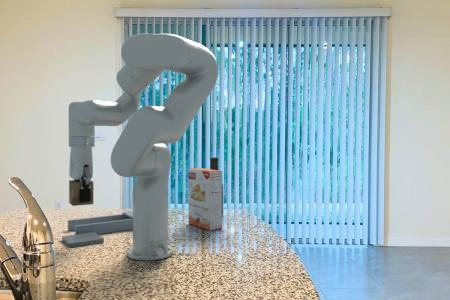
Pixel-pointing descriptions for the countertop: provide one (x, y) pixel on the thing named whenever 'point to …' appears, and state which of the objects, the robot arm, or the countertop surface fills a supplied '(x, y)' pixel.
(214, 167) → the beer bottle
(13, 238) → the countertop surface
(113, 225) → the channel
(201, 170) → the cracker box
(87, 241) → the coaster
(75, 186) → the block
